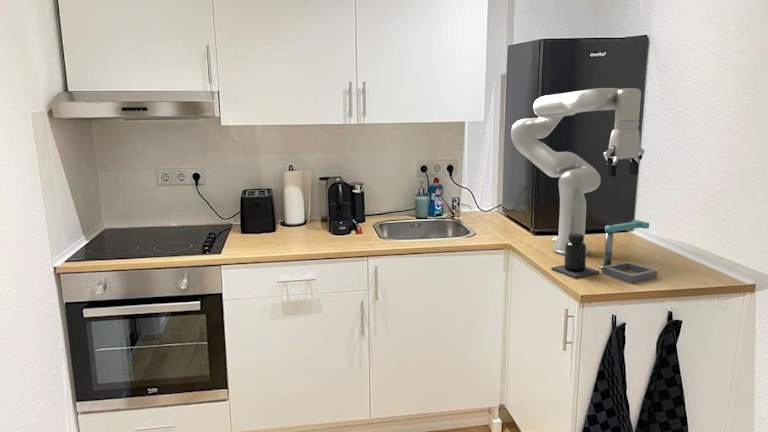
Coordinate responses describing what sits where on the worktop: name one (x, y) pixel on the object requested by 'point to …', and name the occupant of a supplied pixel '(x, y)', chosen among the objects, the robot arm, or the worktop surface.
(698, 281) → the worktop surface
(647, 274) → the bottle holder
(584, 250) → the supplement bottle
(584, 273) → the rubber mat
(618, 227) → the latch bar
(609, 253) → the latch post
